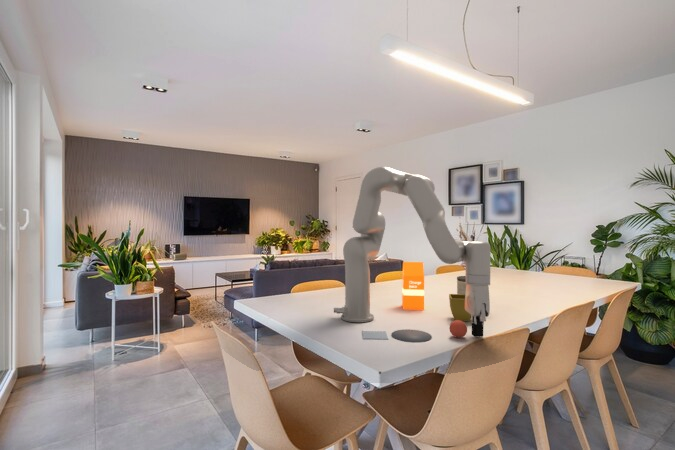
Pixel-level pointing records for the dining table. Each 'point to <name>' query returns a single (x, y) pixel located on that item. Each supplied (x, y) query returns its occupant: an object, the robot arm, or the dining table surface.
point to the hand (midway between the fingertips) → (477, 335)
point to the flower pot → (459, 307)
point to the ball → (458, 328)
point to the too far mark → (374, 335)
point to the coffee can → (461, 285)
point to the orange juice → (413, 285)
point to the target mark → (411, 335)
